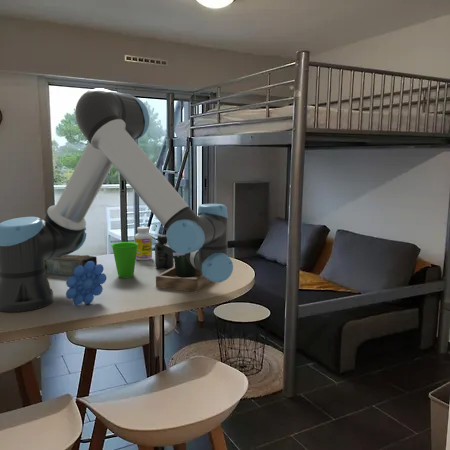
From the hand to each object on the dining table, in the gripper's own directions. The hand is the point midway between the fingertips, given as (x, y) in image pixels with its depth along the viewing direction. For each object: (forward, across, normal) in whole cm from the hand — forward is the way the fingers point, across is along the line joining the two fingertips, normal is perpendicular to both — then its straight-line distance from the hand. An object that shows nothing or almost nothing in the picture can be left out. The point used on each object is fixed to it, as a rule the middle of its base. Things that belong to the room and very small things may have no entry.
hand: (181, 242), depth 141 cm
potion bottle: (-5, 0, -10) cm, 11 cm away
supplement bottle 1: (+34, -7, -13) cm, 37 cm away
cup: (+11, -17, -13) cm, 24 cm away
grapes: (-14, -31, -13) cm, 36 cm away
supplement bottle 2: (+18, -2, -13) cm, 22 cm away
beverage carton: (+22, -36, -13) cm, 44 cm away
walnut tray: (-5, 0, -13) cm, 14 cm away
